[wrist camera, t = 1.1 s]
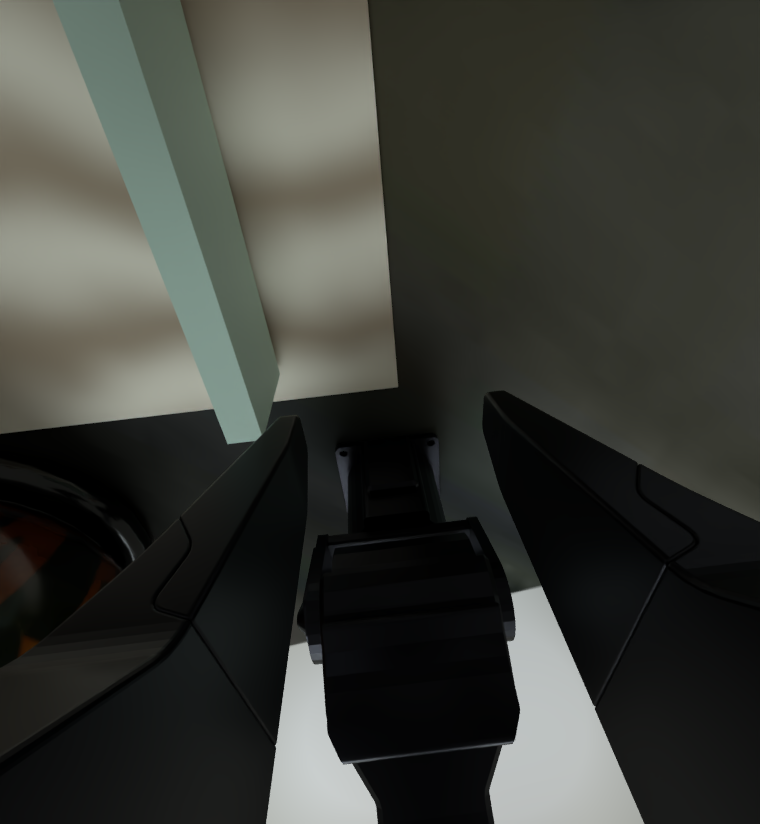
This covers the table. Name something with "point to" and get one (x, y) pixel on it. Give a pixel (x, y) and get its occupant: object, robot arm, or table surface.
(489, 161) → the table surface
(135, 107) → the gate
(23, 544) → the amphora vase
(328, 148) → the gate base
